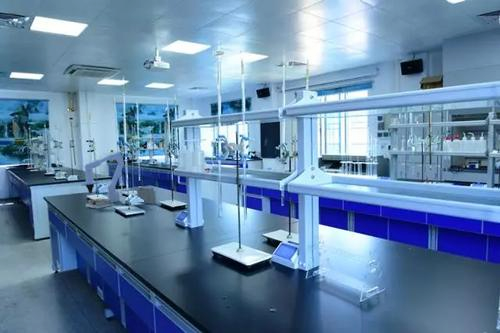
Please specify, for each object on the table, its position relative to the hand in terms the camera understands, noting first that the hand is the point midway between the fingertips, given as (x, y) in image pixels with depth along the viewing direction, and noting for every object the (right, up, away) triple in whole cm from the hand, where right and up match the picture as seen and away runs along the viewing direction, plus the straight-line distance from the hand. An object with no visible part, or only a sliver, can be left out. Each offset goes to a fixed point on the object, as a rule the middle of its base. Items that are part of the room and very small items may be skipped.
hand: (90, 193), depth 299 cm
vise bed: (+13, -10, -11) cm, 20 cm away
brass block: (+14, -9, -12) cm, 20 cm away
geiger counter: (+47, -9, 0) cm, 48 cm away
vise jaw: (+8, -8, -8) cm, 14 cm away
